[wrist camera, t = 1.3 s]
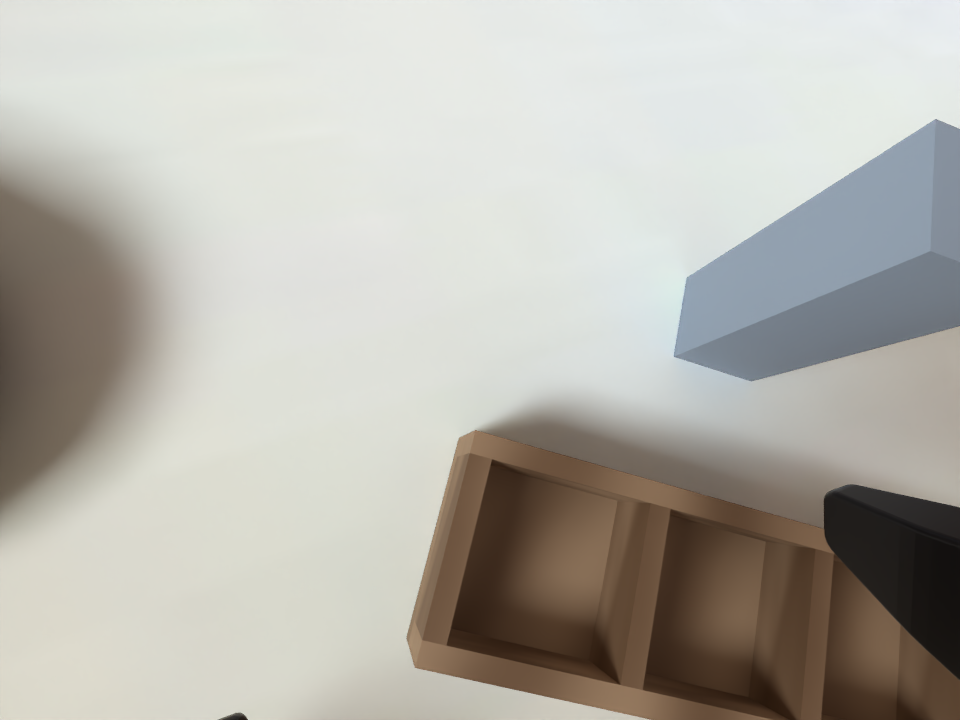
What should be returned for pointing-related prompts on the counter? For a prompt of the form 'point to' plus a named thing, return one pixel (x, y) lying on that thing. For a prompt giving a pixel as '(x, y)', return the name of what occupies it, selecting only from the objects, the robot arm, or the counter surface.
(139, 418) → the counter surface
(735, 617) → the slot organizer
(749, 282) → the plug block
